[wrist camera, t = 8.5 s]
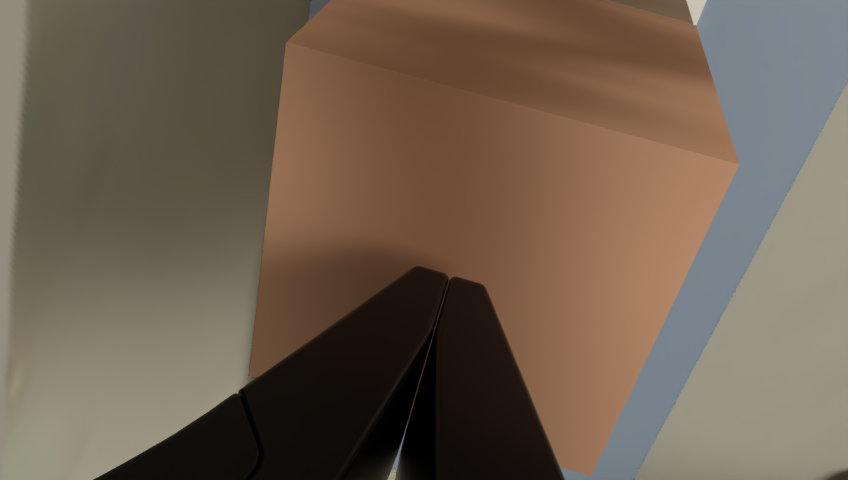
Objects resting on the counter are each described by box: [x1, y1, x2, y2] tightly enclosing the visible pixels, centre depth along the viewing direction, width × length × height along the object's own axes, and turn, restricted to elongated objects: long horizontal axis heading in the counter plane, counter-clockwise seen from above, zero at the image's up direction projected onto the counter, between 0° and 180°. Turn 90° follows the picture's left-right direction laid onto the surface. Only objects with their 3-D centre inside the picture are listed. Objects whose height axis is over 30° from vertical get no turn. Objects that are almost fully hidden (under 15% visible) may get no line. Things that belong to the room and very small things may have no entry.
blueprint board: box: [308, 0, 848, 480], centre depth 22 cm, size 12×19×1 cm, turn 168°
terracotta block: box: [249, 0, 739, 476], centre depth 12 cm, size 5×5×5 cm
